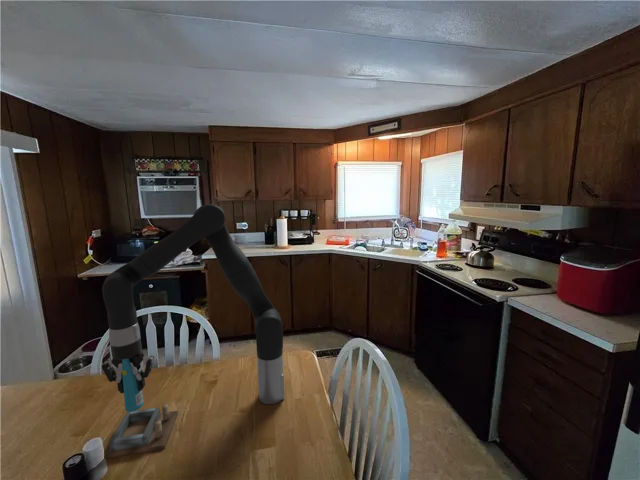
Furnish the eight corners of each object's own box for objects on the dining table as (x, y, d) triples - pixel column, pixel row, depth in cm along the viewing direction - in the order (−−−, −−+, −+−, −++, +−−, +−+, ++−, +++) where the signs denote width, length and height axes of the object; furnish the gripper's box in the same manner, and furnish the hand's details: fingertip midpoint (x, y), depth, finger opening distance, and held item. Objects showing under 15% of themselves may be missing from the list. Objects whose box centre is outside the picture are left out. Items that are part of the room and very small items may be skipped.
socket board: (177, 413, 101) (176, 397, 99) (164, 448, 87) (162, 430, 86) (126, 421, 98) (124, 404, 96) (104, 458, 84) (101, 439, 83)
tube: (128, 400, 93) (120, 345, 89) (145, 396, 95) (138, 342, 91) (122, 417, 86) (114, 358, 83) (141, 412, 88) (134, 354, 85)
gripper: (156, 330, 91) (161, 379, 94) (105, 334, 89) (112, 385, 92) (146, 342, 84) (153, 395, 87) (91, 348, 81) (99, 402, 84)
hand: (132, 390), depth 89 cm, fingers closed on tube, 4 cm apart
